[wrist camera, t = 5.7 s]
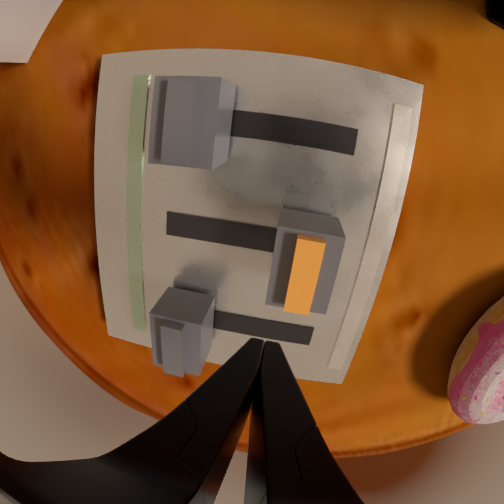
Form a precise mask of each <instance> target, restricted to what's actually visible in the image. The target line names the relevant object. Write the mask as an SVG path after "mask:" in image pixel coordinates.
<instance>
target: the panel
mask: <svg viewBox="0 0 504 504" xmlns="http://www.w3.org/2000/svg"><path fill="white" fill-rule="evenodd" d="M155 76H211V77H223V78H225V79H226V80H228V81H230V82H232V83H234V84H235V85H236V91H235V99H234V107H233V116H232V124H231V133H230V141H229V150H228V160H227V162H225V163H223V164H222V165H220V166H218V167H216V168H214V169H213V170H208V169H199V168H190V167H181V166H171V165H160V164H149V163H148V152H149V136H150V123H151V111H152V101H153V91H154V82H155ZM423 87H424V85H422V84H419V83H415V82H412V81H409V80H406V79H402V78H399V77H396V76H392V75H388V74H385V73H381V72H377V71H373V70H369V69H365V68H361V67H356V66H352V65H347V64H342V63H337V62H332V61H327V60H321V59H315V58H309V57H303V56H296V55H288V54H280V53H271V52H260V51H248V50H231V49H161V50H144V51H132V52H122V53H113V54H105V55H102V61H101V69H100V77H99V86H98V97H97V109H96V125H95V149H94V197H95V222H96V238H97V251H98V262H99V271H100V280H101V289H102V296H103V303H104V310H105V317H106V323H107V329H108V335H110V336H113V337H116V338H119V339H123V340H126V341H129V342H133V343H136V344H140V345H143V346H147V347H150V348H152V343H151V331H150V318H149V312H150V311H151V310H152V308H153V307H154V306H155V304H156V303H157V301H158V300H159V299H160V297H161V296H162V295H163V293H164V292H165V291H166V289H167V288H168V287H173V288H178V289H182V290H187V291H192V292H197V293H202V294H207V295H212V296H215V305H214V319H213V334H212V347H211V349H210V352H209V354H208V357H207V359H206V362H211V363H215V364H220V365H223V364H224V363H225V362H226V361H227V360H228V359H229V358H230V357H231V356H232V355H234V354H235V353H236V352H237V351H238V350H239V349H240V348H241V347H242V346H243V345H244V344H245V343H246V342H247V341H248V340H249V339H250V338H258V339H263V340H264V341H265V342H266V341H267V340H268V341H273V342H278V343H280V345H281V347H282V349H283V352H284V354H285V356H286V358H287V361H288V363H289V365H290V367H291V369H292V372H293V374H294V376H295V378H298V379H305V380H313V381H320V382H329V383H337V384H342V382H343V379H344V377H345V375H346V372H347V370H348V368H349V365H350V363H351V361H352V358H353V356H354V353H355V351H356V348H357V346H358V343H359V341H360V338H361V335H362V333H363V330H364V327H365V325H366V322H367V319H368V317H369V314H370V311H371V308H372V305H373V303H374V300H375V297H376V294H377V291H378V288H379V285H380V282H381V279H382V275H383V272H384V269H385V266H386V263H387V259H388V256H389V253H390V249H391V246H392V242H393V239H394V235H395V231H396V228H397V224H398V220H399V216H400V212H401V208H402V204H403V200H404V196H405V191H406V187H407V182H408V178H409V173H410V168H411V163H412V158H413V153H414V147H415V142H416V136H417V130H418V124H419V117H420V110H421V103H422V95H423ZM282 208H286V209H292V210H298V211H304V212H310V213H315V214H321V215H327V216H332V217H337V218H339V220H340V223H341V225H342V228H343V231H344V234H345V237H346V240H345V244H344V248H343V252H342V256H341V260H340V264H339V268H338V272H337V276H336V280H335V283H334V287H333V291H332V294H331V298H330V302H329V305H328V309H327V312H326V314H319V313H313V312H309V315H304V314H298V313H292V312H286V311H283V309H284V308H282V307H277V306H271V305H265V301H266V295H267V289H268V283H269V277H270V271H271V264H272V258H273V252H274V246H275V240H276V233H277V227H278V222H279V218H280V214H281V209H282ZM264 345H265V344H264Z"/></svg>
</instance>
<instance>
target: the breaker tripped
mask: <svg viewBox="0 0 504 504" xmlns="http://www.w3.org/2000/svg"><path fill="white" fill-rule="evenodd" d="M345 240H346V237H345V234H344V231H343V228H342V225H341V223H340V220H339V218H337V217H332V216H327V215H321V214H315V213H310V212H304V211H298V210H292V209H286V208H282V209H281V214H280V218H279V222H278V227H277V233H276V240H275V246H274V252H273V258H272V264H271V271H270V277H269V283H268V289H267V295H266V301H265V305H271V306H277V307H282V308H284V309H283V311H286V312H292V313H298V314H304V315H309V312H313V313H319V314H326V312H327V309H328V305H329V302H330V298H331V294H332V291H333V287H334V283H335V280H336V276H337V272H338V268H339V264H340V260H341V256H342V252H343V248H344V244H345Z"/></svg>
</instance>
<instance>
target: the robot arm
mask: <svg viewBox="0 0 504 504" xmlns="http://www.w3.org/2000/svg"><path fill="white" fill-rule="evenodd" d="M485 1H486V14H487V17H488V18H489V20H490V21H492V22H493V23H495V24H497V25H499V26H500V27H502V28H504V0H485ZM492 13H493V14H494V15H495V17H494V16H493V15H492ZM264 344H265V345H264ZM253 396H254V397H253ZM252 401H253V402H252ZM251 405H252V407H251ZM250 409H251V415H250V428H249V442H248V456H247V470H246V483H245V497H244V504H364V502H363V501H362V500H361V498H360V497H359V496H358V494H357V493H356V491H355V490H354V488H353V487H352V485H351V484H350V482H349V481H348V479H347V478H346V476H345V475H344V473H343V472H342V470H341V469H340V467H339V466H338V464H337V462H336V461H335V459H334V457H333V456H332V454H331V452H330V451H329V449H328V447H327V445H326V443H325V441H324V439H323V437H322V435H321V433H320V431H319V428H318V427H317V426H316V422H315V420H314V418H313V416H312V413H311V411H310V409H309V407H308V405H307V402H306V400H305V398H304V396H303V394H302V391H301V389H300V387H299V385H298V383H297V380H296V378H295V376H294V374H293V372H292V369H291V367H290V365H289V363H288V361H287V358H286V356H285V354H284V352H283V349H282V347H281V345H280V343H278V342H273V341H268V340H267V341H266V342H265V341H264V340H263V339H258V338H250V339H249V340H248V341H247V342H246V343H245V344H244V345H243V346H242V347H241V348H240V349H239V350H238V351H237V352H236V353H235V354H234V355H232V356H231V357H230V358H229V359H228V360H227V361H226V362H225V363H224V364H223V365H222V366H221V367H220V368H219V369H218V370H217V371H216V372H215V373H213V374H212V375H211V376H210V377H209V378H208V379H207V380H206V381H205V382H204V383H203V384H202V385H201V386H199V387H198V388H197V389H196V390H195V391H194V392H193V393H192V394H191V395H190V396H188V397H187V398H186V400H185V401H183V402H182V403H181V404H179V405H178V406H177V407H176V408H175V409H174V410H173V411H171V412H170V413H169V414H168V415H166V416H165V417H164V418H163V419H161V420H160V421H158V422H157V423H155V424H154V425H153V426H151V427H150V428H148V429H147V430H145V431H143V432H142V433H140V434H139V435H137V436H136V437H134V438H132V439H131V440H129V441H127V442H126V443H124V444H122V445H121V446H119V447H118V448H116V449H114V450H112V451H111V452H109V453H106V454H104V455H102V456H99V457H95V458H90V459H80V460H68V461H51V462H24V461H19V460H15V459H13V458H10V457H8V456H6V455H4V454H3V453H1V452H0V504H213V503H214V501H215V498H216V496H217V494H218V491H219V489H220V486H221V484H222V482H223V479H224V477H225V474H226V471H227V469H228V467H229V464H230V461H231V459H232V457H233V454H234V452H235V449H236V447H237V444H238V441H239V439H240V436H241V434H242V431H243V428H244V426H245V423H246V420H247V418H248V415H249V412H250Z"/></svg>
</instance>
